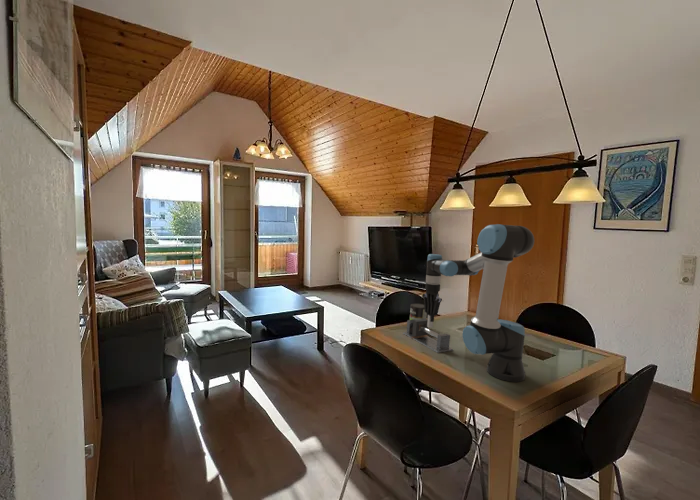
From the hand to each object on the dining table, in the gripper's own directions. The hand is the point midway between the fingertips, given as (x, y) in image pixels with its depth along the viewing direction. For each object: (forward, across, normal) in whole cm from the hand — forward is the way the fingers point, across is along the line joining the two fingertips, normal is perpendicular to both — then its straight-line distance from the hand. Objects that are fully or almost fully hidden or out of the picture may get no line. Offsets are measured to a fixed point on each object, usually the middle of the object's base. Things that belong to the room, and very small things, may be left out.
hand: (430, 326), depth 180 cm
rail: (+9, +2, 0) cm, 9 cm away
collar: (+7, +8, 0) cm, 11 cm away
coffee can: (+9, +23, -10) cm, 27 cm away
